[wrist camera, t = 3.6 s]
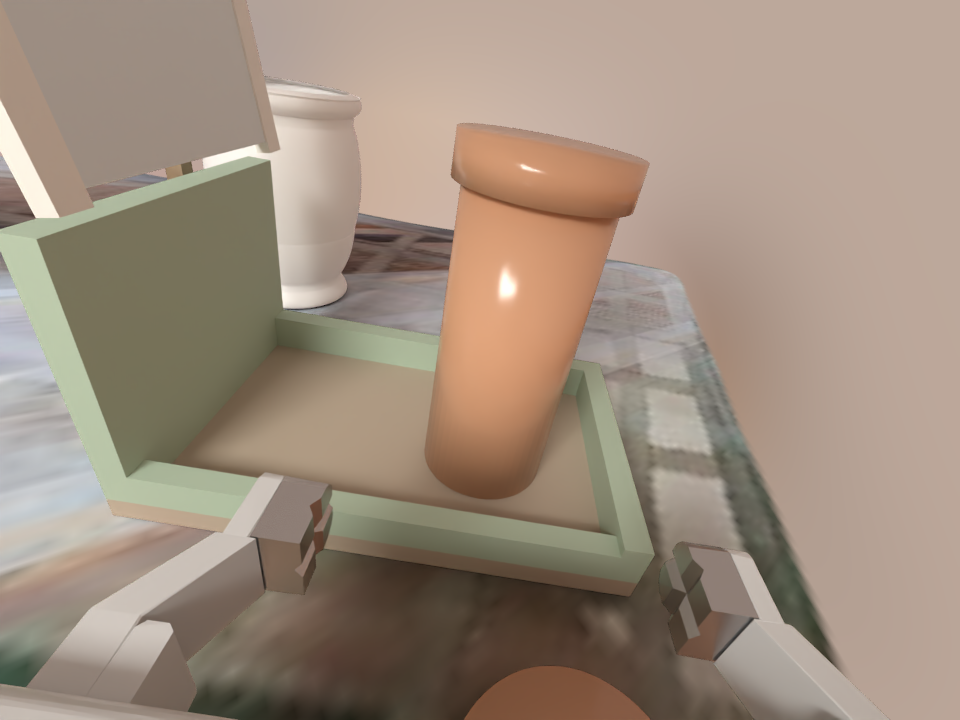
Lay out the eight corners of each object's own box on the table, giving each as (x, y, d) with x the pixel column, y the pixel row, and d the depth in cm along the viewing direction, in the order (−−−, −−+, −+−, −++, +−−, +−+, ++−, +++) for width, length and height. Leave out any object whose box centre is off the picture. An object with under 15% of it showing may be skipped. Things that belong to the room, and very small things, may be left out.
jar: (196, 305, 34) (148, 67, 26) (258, 257, 42) (237, 69, 34) (339, 327, 34) (337, 101, 26) (371, 275, 43) (377, 94, 35)
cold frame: (113, 514, 19) (-8, 231, 12) (269, 345, 31) (248, 156, 24) (629, 596, 19) (768, 366, 13) (586, 399, 31) (648, 228, 25)
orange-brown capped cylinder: (404, 493, 21) (445, 133, 13) (427, 404, 26) (465, 118, 19) (549, 516, 21) (676, 177, 13) (541, 423, 27) (625, 149, 19)
